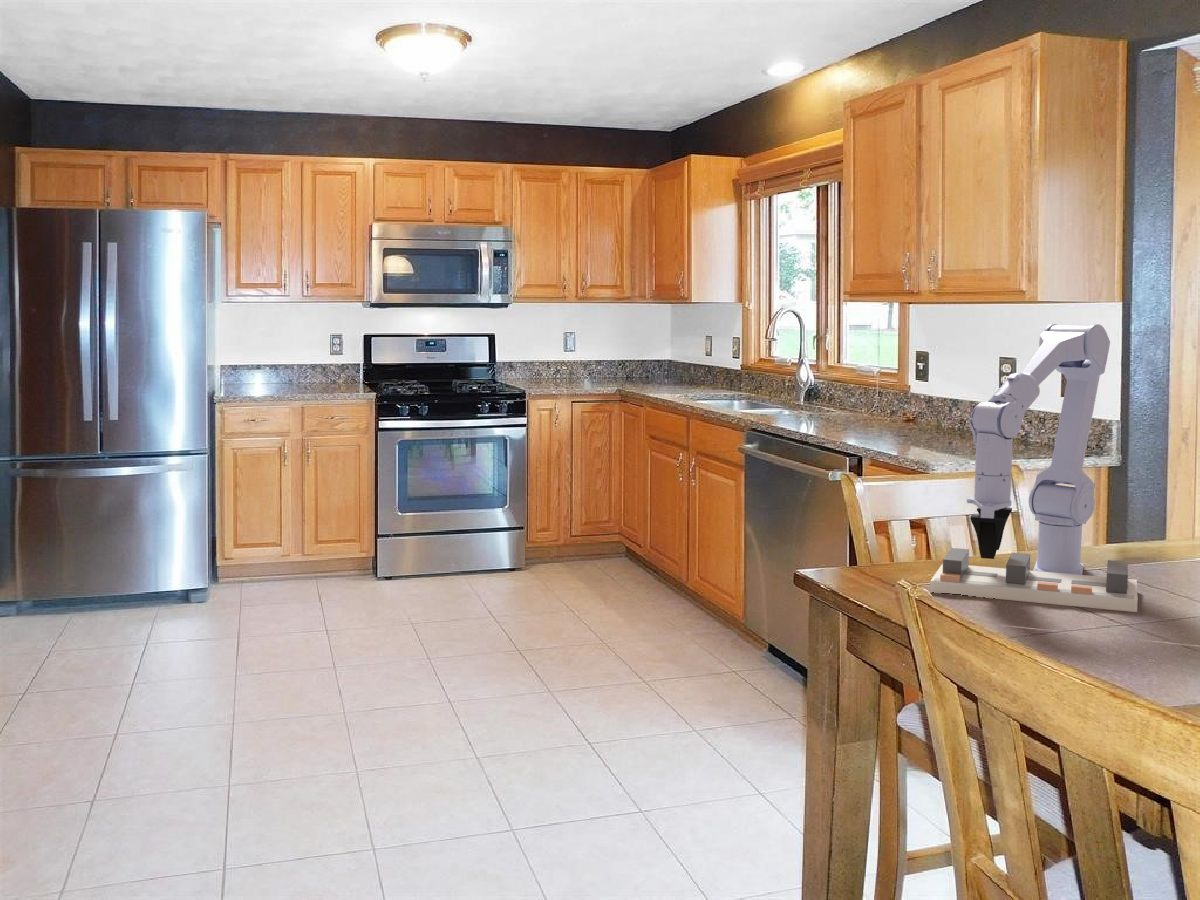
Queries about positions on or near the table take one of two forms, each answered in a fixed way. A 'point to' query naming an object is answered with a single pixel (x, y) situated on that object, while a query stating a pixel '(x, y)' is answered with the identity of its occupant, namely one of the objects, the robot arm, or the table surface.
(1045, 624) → the table surface
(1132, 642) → the table surface
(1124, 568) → the slider
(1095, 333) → the robot arm
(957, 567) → the slider
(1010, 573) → the slider middle
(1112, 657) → the table surface
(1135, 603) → the switch panel
